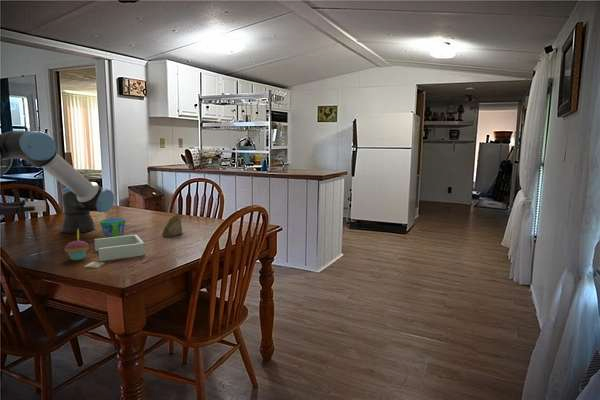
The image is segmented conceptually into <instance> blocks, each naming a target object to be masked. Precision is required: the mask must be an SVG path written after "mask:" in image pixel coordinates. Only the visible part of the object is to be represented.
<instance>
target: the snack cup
mask: <svg viewBox="0 0 600 400" xmlns="http://www.w3.org/2000/svg"><path fill="white" fill-rule="evenodd" d="M126 222H127V221H126V219H125V218H123V217H114V218H105V219H101V220H100V222H99V224H100V226H101V230H102V233H103V238H109V237H118V236H125V225H126Z"/></svg>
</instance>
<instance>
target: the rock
mask: <svg viewBox="0 0 600 400" xmlns="http://www.w3.org/2000/svg"><path fill="white" fill-rule="evenodd" d="M182 234H183V228H182V219H181V216H180V215H178V214H177V215H173V216H172V217H171V218H169V219H168V222H167V223H166V224H165V227H164V228H163V231H162V234H161V236H163V237H171V236H176V235H182Z"/></svg>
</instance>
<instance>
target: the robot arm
mask: <svg viewBox="0 0 600 400" xmlns="http://www.w3.org/2000/svg"><path fill="white" fill-rule="evenodd" d="M55 144H56V142H55V140H54V139H53V137H52V136H50V135H49V134H48V133H46V132H43V131H38V130H11V131H7V132H3V133H1V134H0V162H1V161H5V160H12V159H13V160H25V161H26V162H28V163H29V164H31V166H33V167H34V168H38V169H39V168H42V169H43V170H44V172H45V171H46V173H48V174H49V175H51V177H53V178H54V179H55V180H57V181H58V182H60V183H61V184H62V185H63V186H65V187H63V188H62V192H61V194H62V195H61V197H62V198H61V199H62V205H63V206H62V207H63V216H64V217H63V221H62V223H61V226H60V227H61V228H60V230H61V232H62V233H64V234H65V233H66V234H77V230H79V234H80V233H85V232H90V231H93V230H95V229H96V228H95V227H96V225H95V222H94V220H93V218H92V215H91V212H95V213H106V212H109V211H110V210H111V209H112V207H113V206H114V203H115V194H114V193H113V191H112V190H111V189H108V188H103V187H102V186H101V185H99V184H98V183H97V182H95V181H90V180H89V179H87V178H86V177H85V176H84V175H83V174H81V173H80V172H79V171H78V170H77V169H76V168H74V166H72V165H71V164H70V163H69V162H68V161H66V160H65V158H63V156H61V155H59V153H58V148H57V146H56V145H55ZM46 203H47V202H46V200H35V201H34V200H33V201H31V200H30V201H25V199H22V200H20V201H11V202H0V216H9V215H10V216H12V215H21V216H25V213H26V214H27V213H39V212H40V213H42V212H46V211H47V204H46Z"/></svg>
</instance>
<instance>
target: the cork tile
mask: <svg viewBox="0 0 600 400" xmlns="http://www.w3.org/2000/svg"><path fill="white" fill-rule="evenodd" d="M105 264H106V262H105V261H99V262H98V261H91V262H90V263H87V264H86V265H84V267H83V268H84V269H99V268H101V267H102V266H104V265H105Z"/></svg>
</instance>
